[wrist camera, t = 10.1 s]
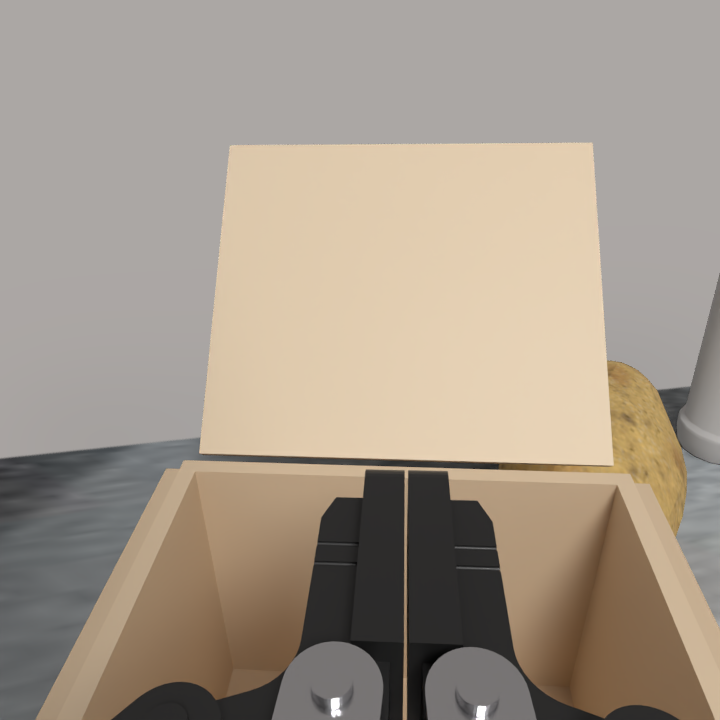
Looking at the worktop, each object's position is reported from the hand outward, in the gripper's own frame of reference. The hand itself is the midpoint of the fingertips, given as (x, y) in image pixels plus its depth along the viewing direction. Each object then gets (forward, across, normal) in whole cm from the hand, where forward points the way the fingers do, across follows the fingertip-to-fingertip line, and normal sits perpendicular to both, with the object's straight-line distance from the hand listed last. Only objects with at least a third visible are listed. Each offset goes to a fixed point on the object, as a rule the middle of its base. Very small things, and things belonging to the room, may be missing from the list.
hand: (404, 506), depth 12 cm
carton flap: (+14, 0, +2) cm, 14 cm away
